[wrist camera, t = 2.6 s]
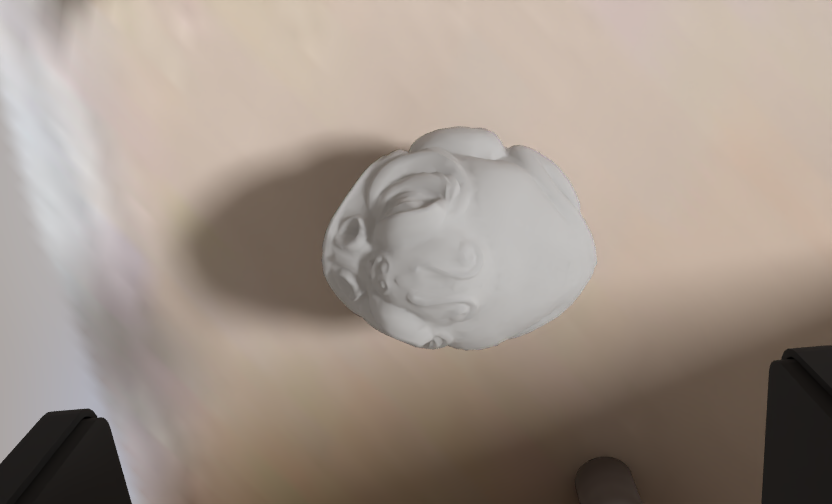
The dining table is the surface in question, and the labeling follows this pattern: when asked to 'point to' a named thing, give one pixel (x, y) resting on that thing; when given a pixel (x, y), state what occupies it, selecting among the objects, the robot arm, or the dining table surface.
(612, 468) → the walnut shelf
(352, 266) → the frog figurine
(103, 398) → the dining table surface
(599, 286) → the dining table surface
